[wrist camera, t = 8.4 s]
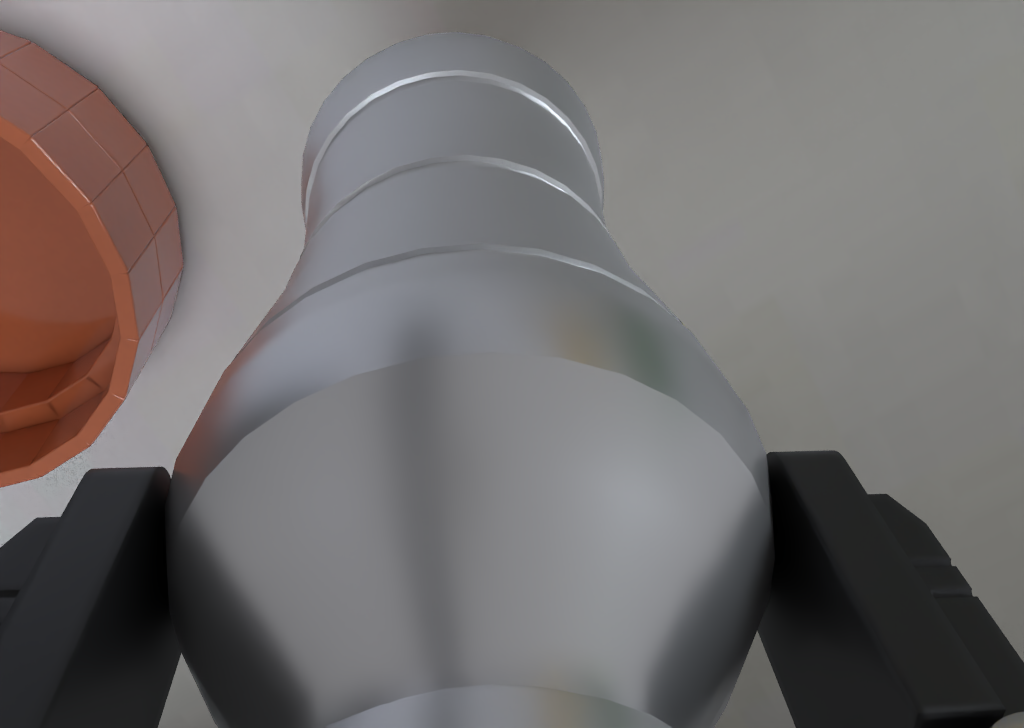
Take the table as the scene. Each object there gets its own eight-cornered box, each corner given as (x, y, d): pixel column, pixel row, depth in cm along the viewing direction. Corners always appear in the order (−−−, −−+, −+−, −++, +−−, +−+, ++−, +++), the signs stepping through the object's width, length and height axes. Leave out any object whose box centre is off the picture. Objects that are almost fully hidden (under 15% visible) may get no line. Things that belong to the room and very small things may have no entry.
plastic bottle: (268, 73, 22) (-441, 1043, 4) (540, -34, 21) (1018, 622, 3) (380, 303, 25) (231, 1397, 7) (619, 218, 24) (1078, 1218, 7)
